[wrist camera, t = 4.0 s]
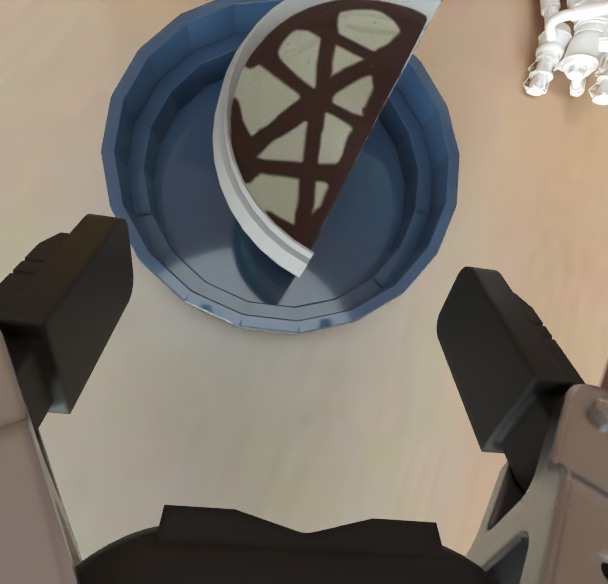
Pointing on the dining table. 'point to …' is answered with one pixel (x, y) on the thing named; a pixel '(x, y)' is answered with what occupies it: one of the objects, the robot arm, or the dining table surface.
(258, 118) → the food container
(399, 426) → the dining table surface
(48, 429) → the dining table surface
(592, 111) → the dining table surface
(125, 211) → the bowl
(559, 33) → the rocket engine
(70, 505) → the dining table surface
